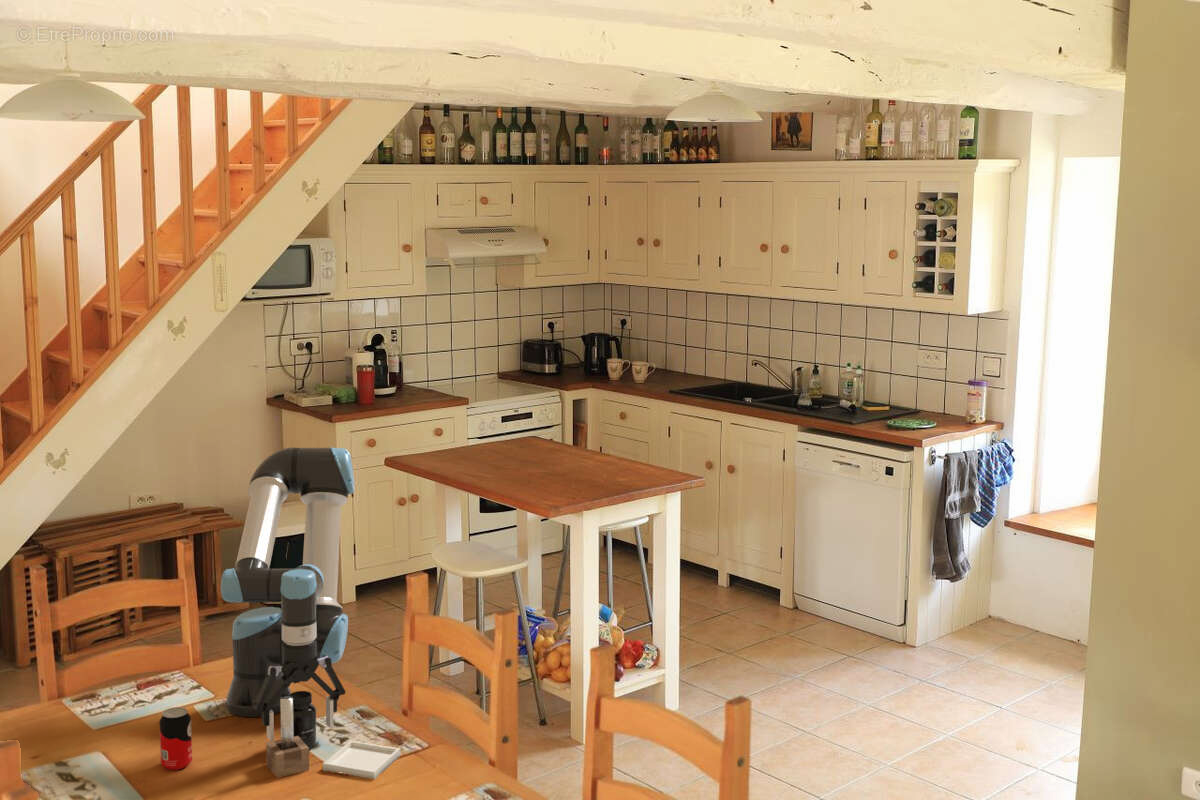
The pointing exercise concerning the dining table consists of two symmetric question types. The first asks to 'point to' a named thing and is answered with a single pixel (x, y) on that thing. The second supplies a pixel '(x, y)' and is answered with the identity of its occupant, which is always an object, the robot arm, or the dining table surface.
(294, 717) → the supplement bottle
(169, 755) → the beverage can
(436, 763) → the dining table surface
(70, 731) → the dining table surface
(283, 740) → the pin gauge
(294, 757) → the brown peg holder block
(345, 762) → the tray
